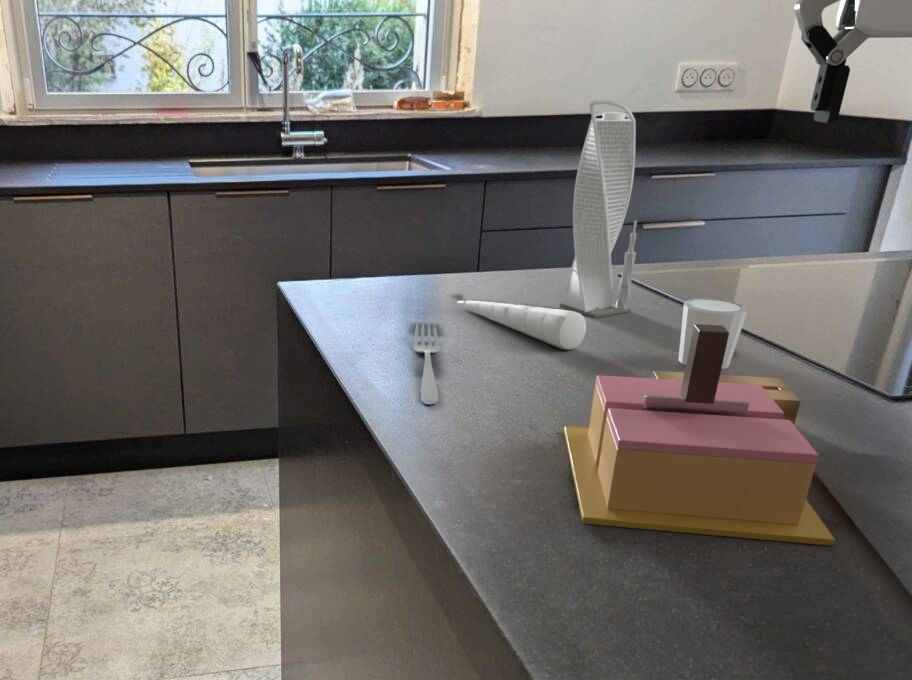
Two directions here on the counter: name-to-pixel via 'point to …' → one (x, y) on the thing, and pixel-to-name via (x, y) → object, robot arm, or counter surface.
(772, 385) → the knife stand
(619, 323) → the counter surface
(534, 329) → the unicorn horn
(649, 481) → the cake
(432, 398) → the fork
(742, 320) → the shot glass
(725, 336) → the knife
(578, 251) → the skyscraper
